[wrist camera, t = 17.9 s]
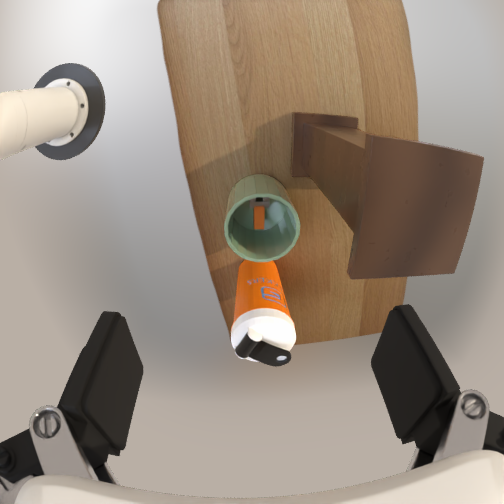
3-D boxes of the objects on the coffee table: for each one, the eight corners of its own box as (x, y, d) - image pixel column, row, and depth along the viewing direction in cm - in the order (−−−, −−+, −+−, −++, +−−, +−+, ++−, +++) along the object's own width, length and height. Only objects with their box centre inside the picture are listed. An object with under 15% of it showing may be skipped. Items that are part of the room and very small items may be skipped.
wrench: (267, 221, 49) (268, 229, 46) (249, 222, 48) (249, 229, 46) (268, 184, 45) (269, 190, 43) (248, 184, 45) (249, 190, 43)
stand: (290, 174, 45) (350, 279, 20) (292, 112, 40) (372, 135, 15) (349, 176, 46) (454, 273, 20) (354, 117, 41) (484, 157, 15)
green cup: (228, 231, 50) (225, 262, 41) (226, 174, 45) (222, 194, 36) (287, 231, 50) (297, 261, 41) (290, 174, 45) (302, 193, 37)
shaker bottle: (272, 295, 57) (283, 379, 39) (227, 284, 55) (222, 368, 38) (289, 257, 53) (310, 338, 35) (241, 244, 51) (242, 324, 34)
